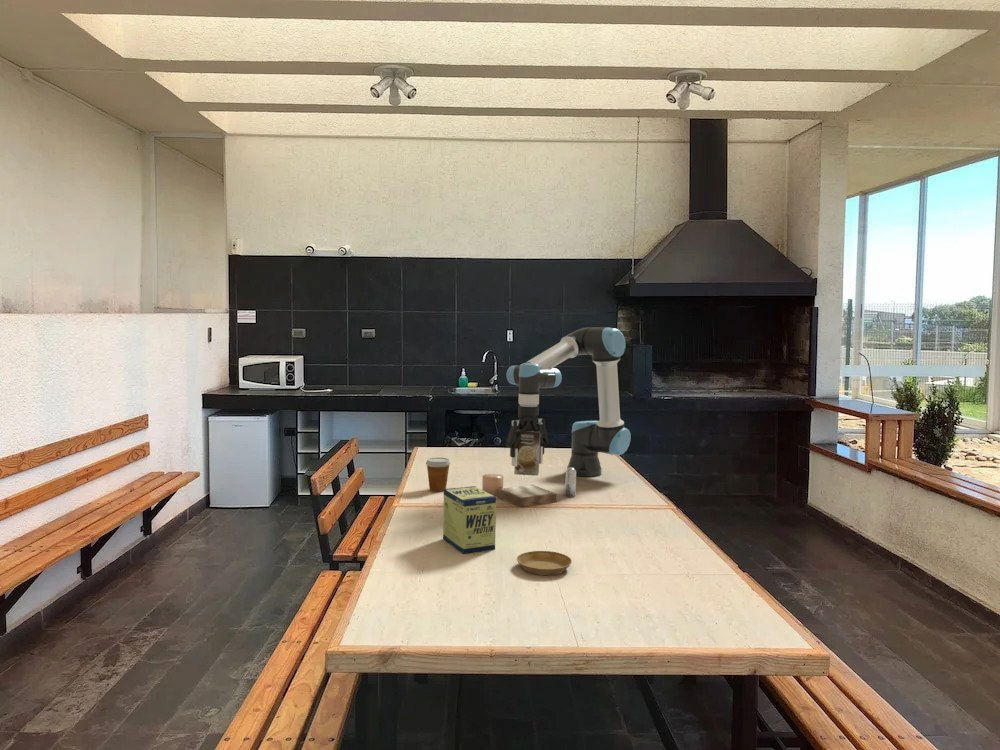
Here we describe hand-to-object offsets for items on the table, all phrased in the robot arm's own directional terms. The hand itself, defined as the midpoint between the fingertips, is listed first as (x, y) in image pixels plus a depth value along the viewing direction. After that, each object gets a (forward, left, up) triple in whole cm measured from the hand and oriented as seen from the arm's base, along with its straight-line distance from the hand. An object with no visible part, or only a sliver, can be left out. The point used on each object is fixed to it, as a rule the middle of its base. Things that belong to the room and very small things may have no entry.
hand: (527, 464), depth 259 cm
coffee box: (0, 0, -4) cm, 4 cm away
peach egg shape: (+7, -13, -13) cm, 20 cm away
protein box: (+44, +36, -13) cm, 58 cm away
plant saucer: (+36, +63, -14) cm, 74 cm away
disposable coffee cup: (+23, -28, -13) cm, 39 cm away
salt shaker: (-18, +3, -13) cm, 23 cm away
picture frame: (0, 0, -13) cm, 13 cm away
